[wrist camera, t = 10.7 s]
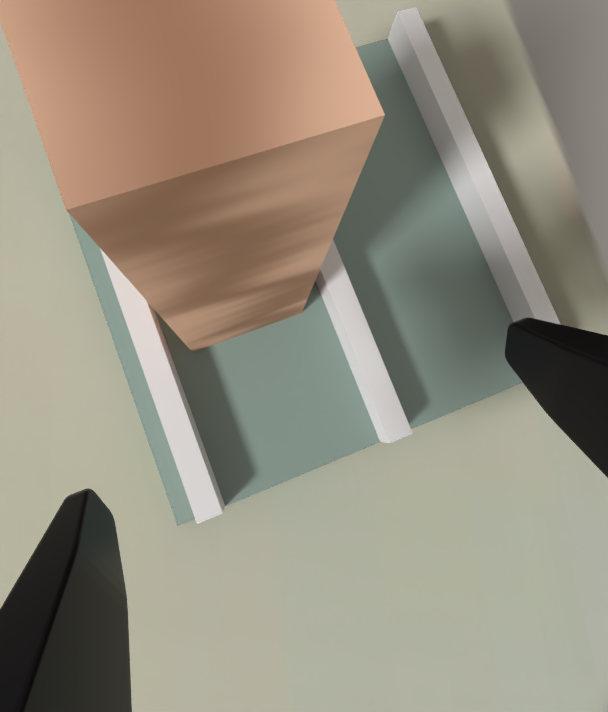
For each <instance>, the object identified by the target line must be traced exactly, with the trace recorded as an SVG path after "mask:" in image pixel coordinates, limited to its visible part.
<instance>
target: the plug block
mask: <svg viewBox="0 0 608 712" xmlns="http://www.w3.org/2000/svg"><path fill="white" fill-rule="evenodd" d="M0 22H1V25H2V28H3V31H4V33H5V36H6V39H7V42H8V45H9V48H10V51H11V53H12V56H13V59H14V62H15V65H16V68H17V71H18V73H19V76H20V79H21V82H22V85H23V88H24V91H25V93H26V96H27V99H28V102H29V105H30V108H31V111H32V113H33V116H34V119H35V122H36V125H37V128H38V131H39V133H40V136H41V139H42V142H43V145H44V148H45V151H46V153H47V156H48V159H49V162H50V165H51V168H52V171H53V173H54V176H55V179H56V182H57V185H58V188H59V191H60V193H61V196H62V199H63V202H64V205H65V208H66V210H67V211H68V212H69V214H70V215H71V216H72V217H73V218H74V219H75V220H76V221H77V223H78V224H79V225H80V226H81V227H82V228H83V229H84V230H85V232H86V233H87V234H88V235H89V236H90V237H91V238H92V240H93V241H94V242H95V243H96V244H97V245H98V246H99V247H100V249H101V250H102V251H103V252H104V253H105V254H106V255H107V256H108V258H109V259H110V260H111V261H112V262H113V263H114V264H115V266H116V267H117V268H118V269H119V270H120V271H121V272H122V273H123V275H124V276H125V277H126V278H127V279H128V280H129V281H130V282H131V284H132V285H133V286H134V287H135V288H136V289H137V290H138V291H139V293H140V294H141V295H142V296H143V297H144V298H145V299H146V301H147V302H148V303H149V304H150V305H151V306H152V307H153V308H154V310H155V311H156V312H157V313H158V314H159V315H160V316H161V317H162V319H163V320H164V321H165V322H166V323H167V324H168V325H169V327H170V328H171V329H172V330H173V331H174V332H175V333H176V334H177V336H178V337H179V338H180V339H181V340H182V341H183V342H184V343H185V345H186V346H187V347H188V348H189V349H190V350H191V351H192V352H195V351H198V350H201V349H203V348H206V347H209V346H212V345H215V344H217V343H220V342H223V341H226V340H228V339H231V338H234V337H237V336H240V335H242V334H245V333H248V332H251V331H253V330H256V329H259V328H262V327H264V326H267V325H270V324H273V323H276V322H278V321H281V320H284V319H287V318H289V317H292V316H295V315H298V314H301V313H302V311H303V309H304V306H305V304H306V302H307V299H308V297H309V294H310V292H311V290H312V287H313V285H314V283H315V280H316V278H317V275H318V273H319V271H320V268H321V266H322V263H323V261H324V259H325V256H326V254H327V252H328V249H329V247H330V244H331V242H332V240H333V237H334V235H335V233H336V230H337V228H338V225H339V223H340V221H341V218H342V216H343V214H344V211H345V209H346V206H347V204H348V202H349V199H350V197H351V195H352V192H353V190H354V187H355V185H356V183H357V180H358V178H359V176H360V173H361V171H362V168H363V166H364V164H365V161H366V159H367V157H368V154H369V152H370V149H371V147H372V145H373V142H374V140H375V138H376V135H377V133H378V130H379V128H380V126H381V123H382V121H383V119H384V116H385V114H384V112H383V109H382V107H381V105H380V102H379V100H378V98H377V96H376V93H375V91H374V89H373V86H372V84H371V82H370V80H369V77H368V75H367V73H366V70H365V68H364V66H363V64H362V61H361V59H360V57H359V54H358V52H357V50H356V48H355V45H354V43H353V41H352V39H351V36H350V34H349V32H348V29H347V27H346V25H345V23H344V20H343V18H342V16H341V13H340V11H339V9H338V7H337V4H336V2H335V0H0Z"/></svg>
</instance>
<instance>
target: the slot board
mask: <svg viewBox="0 0 608 712" xmlns="http://www.w3.org/2000/svg"><path fill="white" fill-rule="evenodd" d="M355 48H356V50H357V52H358V54H359V57H360V59H361V61H362V64H363V66H364V68H365V70H366V73H367V75H368V77H369V80H370V82H371V84H372V86H373V89H374V91H375V93H376V96H377V98H378V100H379V102H380V105H381V107H382V109H383V112H384V114H385V116H384V119H383V121H382V123H381V126H380V128H379V130H378V133H377V135H376V138H375V140H374V142H373V145H372V147H371V149H370V152H369V154H368V157H367V159H366V161H365V164H364V166H363V168H362V171H361V173H360V176H359V178H358V180H357V183H356V185H355V187H354V190H353V192H352V195H351V197H350V199H349V202H348V204H347V206H346V209H345V211H344V214H343V216H342V218H341V221H340V223H339V225H338V228H337V230H336V233H335V235H334V237H333V240H332V242H331V244H330V247H329V249H328V252H327V254H326V256H325V259H324V261H323V263H322V266H321V268H320V271H319V273H318V275H317V278H316V280H315V283H314V285H313V287H312V290H311V292H310V294H309V297H308V299H307V302H306V304H305V306H304V309H303V311H302V313H301V314H298V315H295V316H292V317H289V318H287V319H284V320H281V321H278V322H276V323H273V324H270V325H267V326H264V327H262V328H259V329H256V330H253V331H251V332H248V333H245V334H242V335H240V336H237V337H234V338H231V339H228V340H226V341H223V342H220V343H217V344H215V345H212V346H209V347H206V348H203V349H201V350H198V351H195V352H192V351H191V350H190V349H189V348H188V347H187V346H186V345H185V343H184V342H183V341H182V340H181V339H180V338H179V337H178V336H177V334H176V333H175V332H174V331H173V330H172V329H171V328H170V327H169V325H168V324H167V323H166V322H165V321H164V320H163V319H162V317H161V316H160V315H159V314H158V313H157V312H156V311H155V310H154V308H153V307H152V306H151V305H150V304H149V303H148V302H147V301H146V299H145V298H144V297H143V296H142V295H141V294H140V293H139V291H138V290H137V289H136V288H135V287H134V286H133V285H132V284H131V282H130V281H129V280H128V279H127V278H126V277H125V276H124V275H123V273H122V272H121V271H120V270H119V269H118V268H117V267H116V266H115V264H114V263H113V262H112V261H111V260H110V259H109V258H108V256H107V255H106V254H105V253H104V252H103V251H102V250H101V249H100V247H99V246H98V245H97V244H96V243H95V242H94V241H93V240H92V238H91V237H90V236H89V235H88V234H87V233H86V232H85V230H84V229H83V228H82V227H81V226H80V225H79V224H78V223H77V221H76V220H75V219H74V218H73V217H72V216H71V215H70V217H71V220H72V223H73V226H74V229H75V232H76V234H77V237H78V240H79V243H80V246H81V249H82V252H83V255H84V257H85V260H86V263H87V266H88V269H89V272H90V275H91V278H92V281H93V283H94V286H95V289H96V292H97V295H98V298H99V301H100V304H101V306H102V309H103V312H104V315H105V318H106V321H107V324H108V327H109V329H110V332H111V335H112V338H113V341H114V344H115V347H116V350H117V352H118V355H119V358H120V361H121V364H122V367H123V370H124V373H125V376H126V378H127V381H128V384H129V387H130V390H131V393H132V396H133V399H134V401H135V404H136V407H137V410H138V413H139V416H140V419H141V422H142V424H143V427H144V430H145V433H146V436H147V439H148V442H149V445H150V448H151V450H152V453H153V456H154V459H155V462H156V465H157V468H158V471H159V473H160V476H161V479H162V482H163V485H164V488H165V491H166V494H167V496H168V499H169V502H170V505H171V508H172V511H173V514H174V517H175V519H176V522H177V525H178V526H179V525H181V524H184V523H186V522H188V521H191V520H193V519H195V520H196V523H197V524H198V523H201V522H203V521H206V520H208V519H210V518H213V517H215V516H218V515H220V514H222V513H223V511H224V508H225V506H227V505H229V504H232V503H234V502H236V501H239V500H241V499H244V498H246V497H248V496H251V495H253V494H256V493H258V492H260V491H263V490H265V489H268V488H270V487H272V486H275V485H277V484H280V483H282V482H284V481H287V480H289V479H292V478H294V477H296V476H299V475H301V474H304V473H306V472H308V471H311V470H313V469H316V468H318V467H320V466H323V465H325V464H328V463H330V462H332V461H335V460H337V459H340V458H342V457H344V456H347V455H349V454H352V453H354V452H356V451H359V450H361V449H364V448H366V447H369V446H371V445H373V444H376V443H378V442H386V443H392V442H394V441H397V440H399V439H402V438H404V437H406V436H409V435H411V434H413V433H412V431H411V429H412V428H414V427H417V426H419V425H421V424H424V423H426V422H429V421H431V420H433V419H436V418H438V417H441V416H443V415H445V414H448V413H450V412H453V411H455V410H457V409H460V408H462V407H465V406H467V405H469V404H472V403H474V402H477V401H479V400H481V399H484V398H486V397H489V396H491V395H493V394H496V393H498V392H501V391H503V390H505V389H508V388H510V387H513V386H515V385H517V384H520V383H522V381H521V379H520V378H519V377H518V376H517V374H516V373H515V372H514V370H513V369H512V368H511V367H510V365H509V364H508V362H507V360H506V358H505V344H506V336H507V329H508V326H509V325H510V324H511V323H512V322H515V321H517V320H520V319H523V318H526V317H530V318H534V319H539V320H543V321H547V322H551V323H556V324H560V322H559V319H558V317H557V315H556V313H555V311H554V308H553V306H552V304H551V302H550V300H549V297H548V295H547V293H546V291H545V289H544V287H543V284H542V282H541V280H540V278H539V276H538V273H537V271H536V269H535V267H534V265H533V262H532V260H531V258H530V256H529V254H528V251H527V249H526V247H525V245H524V243H523V240H522V238H521V236H520V234H519V232H518V229H517V227H516V225H515V223H514V221H513V218H512V216H511V214H510V212H509V210H508V207H507V205H506V203H505V201H504V199H503V197H502V194H501V192H500V190H499V188H498V186H497V183H496V181H495V179H494V177H493V175H492V172H491V170H490V168H489V166H488V164H487V161H486V159H485V157H484V155H483V153H482V150H481V148H480V146H479V144H478V142H477V139H476V137H475V135H474V133H473V131H472V128H471V126H470V124H469V122H468V120H467V117H466V115H465V113H464V111H463V109H462V106H461V104H460V102H459V100H458V98H457V96H456V93H455V91H454V89H453V87H452V85H451V82H450V80H449V78H448V76H447V74H446V71H445V69H444V67H443V65H442V63H441V60H440V58H439V56H438V54H437V52H436V49H435V47H434V45H433V43H432V41H431V38H430V36H429V34H428V32H427V30H426V27H425V25H424V23H423V21H422V19H421V16H420V14H419V12H418V10H417V8H416V7H414V8H410V9H406V10H402V11H398V12H397V13H396V16H395V19H394V22H393V25H392V28H391V31H390V34H389V37H388V39H385V40H382V41H378V42H374V43H370V44H367V45H363V46H359V47H355ZM560 325H561V324H560Z"/></svg>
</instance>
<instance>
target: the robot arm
mask: <svg viewBox="0 0 608 712" xmlns="http://www.w3.org/2000/svg"><path fill="white" fill-rule="evenodd" d="M505 358H506V360H507V362H508V364H509V365H510V367H511V368H512V369H513V370H514V372H515V373H516V374H517V376H518V377H519V378H520V379H521V381H522V382H523V383H524V385H525V386H526V387H527V389H528V390H529V391H530V392H531V394H532V395H533V396H534V398H535V399H536V400H537V401H538V403H539V404H540V405H541V407H542V408H543V409H544V410H545V412H546V413H547V414H548V415H549V416H550V417H551V419H552V420H553V421H554V422H555V423H556V424H557V425H558V426H559V427H560V428H561V429H562V430H563V431H564V432H565V434H566V435H567V436H568V437H569V438H570V439H571V440H572V441H573V442H574V443H575V444H576V445H577V446H578V447H579V448H580V449H581V450H582V451H583V452H584V453H585V454H586V456H587V457H588V458H589V459H590V460H591V461H592V462H593V463H594V464H595V465H596V466H597V467H598V468H599V469H600V470H601V471H602V472H603V473H604V474H605V475H606V476H607V478H608V336H607V335H603V334H599V333H594V332H590V331H586V330H582V329H577V328H573V327H569V326H564V325H560V324H556V323H551V322H547V321H543V320H539V319H534V318H530V317H526V318H523V319H520V320H517V321H515V322H512V323H511V324H510V325H509V326H508V329H507V336H506V344H505ZM0 712H132V705H131V680H130V655H129V631H128V608H127V596H126V589H125V582H124V576H123V570H122V564H121V557H120V551H119V545H118V539H117V533H116V527H115V521H114V518H113V515H112V513H111V512H110V510H109V509H108V508H107V506H106V505H105V504H104V503H103V502H102V500H101V499H100V498H99V497H98V495H97V494H96V493H95V492H94V491H93V490H92V489H84V490H82V491H79V492H76V493H74V494H71V495H69V496H68V497H67V498H66V499H65V500H64V501H63V503H62V505H61V507H60V508H59V510H58V512H57V513H56V515H55V517H54V518H53V520H52V522H51V524H50V525H49V527H48V529H47V530H46V532H45V534H44V536H43V537H42V539H41V541H40V542H39V544H38V546H37V547H36V549H35V551H34V553H33V554H32V556H31V558H30V559H29V561H28V563H27V564H26V566H25V568H24V570H23V571H22V573H21V575H20V576H19V578H18V580H17V581H16V583H15V585H14V587H13V588H12V590H11V592H10V593H9V595H8V597H7V598H6V600H5V602H4V604H3V605H2V607H1V609H0Z"/></svg>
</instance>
